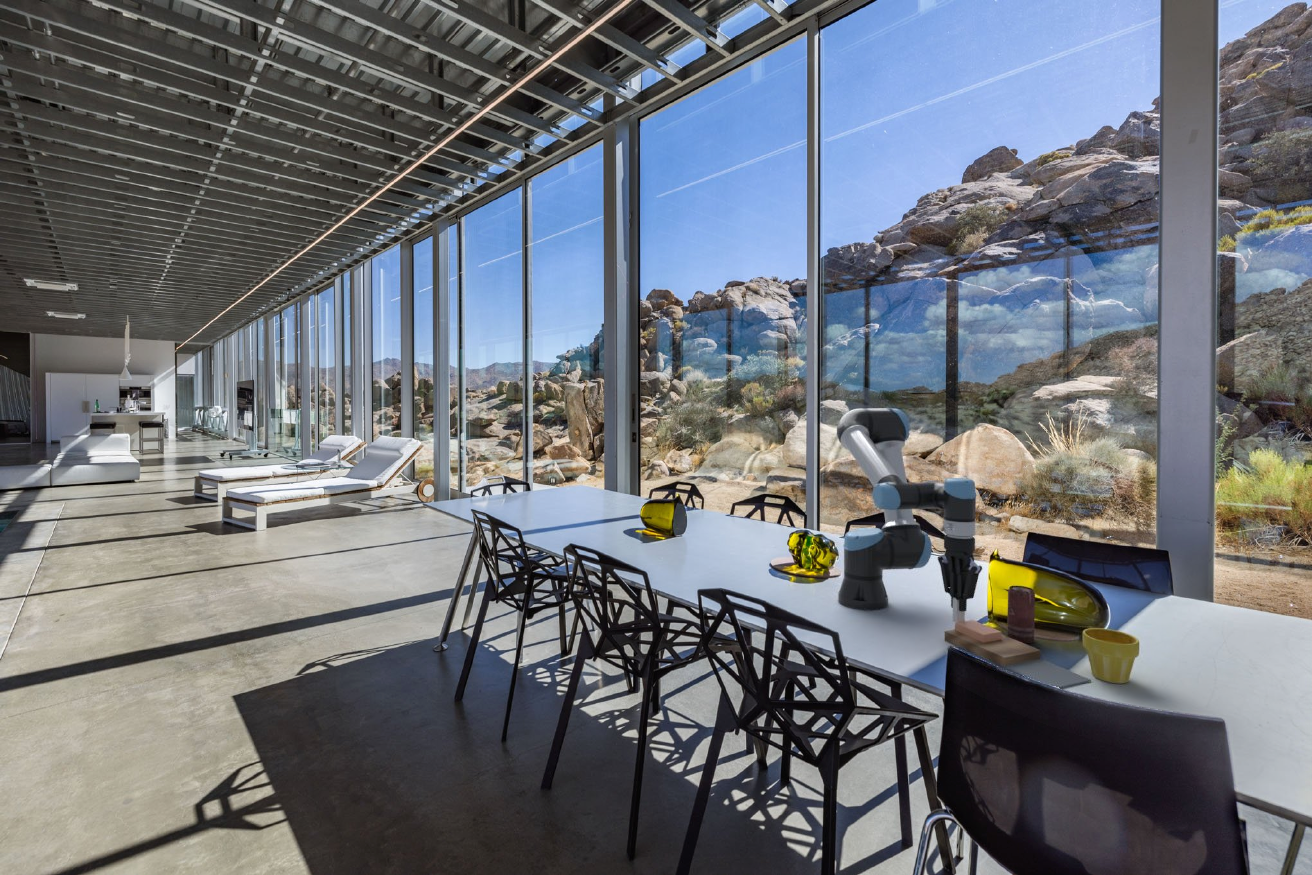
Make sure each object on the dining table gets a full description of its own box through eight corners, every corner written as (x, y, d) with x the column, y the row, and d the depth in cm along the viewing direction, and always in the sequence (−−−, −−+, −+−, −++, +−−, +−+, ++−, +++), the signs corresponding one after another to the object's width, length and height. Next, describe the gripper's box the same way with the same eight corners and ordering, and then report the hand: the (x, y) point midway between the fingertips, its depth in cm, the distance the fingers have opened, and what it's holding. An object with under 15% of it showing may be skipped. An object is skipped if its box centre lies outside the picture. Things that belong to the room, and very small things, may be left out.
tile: (954, 630, 158) (954, 622, 158) (972, 627, 160) (972, 619, 160) (983, 642, 150) (983, 634, 149) (1001, 639, 151) (1001, 631, 151)
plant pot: (1070, 668, 140) (1071, 627, 140) (1111, 666, 141) (1112, 626, 140) (1106, 688, 130) (1107, 645, 129) (1150, 686, 130) (1152, 643, 130)
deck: (944, 640, 158) (944, 630, 157) (978, 634, 162) (978, 625, 161) (1004, 667, 141) (1004, 657, 141) (1040, 660, 145) (1041, 650, 144)
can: (1022, 645, 153) (1023, 592, 153) (1001, 636, 160) (1002, 585, 159) (1040, 643, 155) (1041, 590, 154) (1019, 634, 161) (1020, 583, 160)
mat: (1004, 667, 141) (1004, 666, 141) (1040, 660, 145) (1040, 658, 145) (1052, 690, 129) (1052, 688, 129) (1091, 681, 133) (1091, 679, 133)
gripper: (929, 532, 164) (929, 615, 165) (968, 541, 152) (967, 631, 153) (950, 530, 167) (950, 612, 168) (990, 539, 154) (989, 627, 155)
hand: (958, 621), depth 160 cm, fingers closed
